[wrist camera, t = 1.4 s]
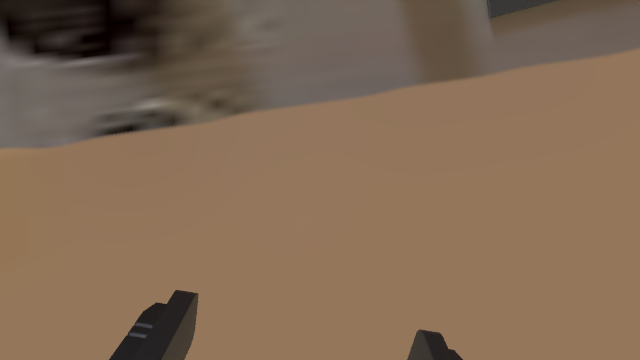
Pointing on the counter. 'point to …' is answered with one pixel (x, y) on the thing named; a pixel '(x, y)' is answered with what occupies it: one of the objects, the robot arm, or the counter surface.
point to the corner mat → (511, 6)
